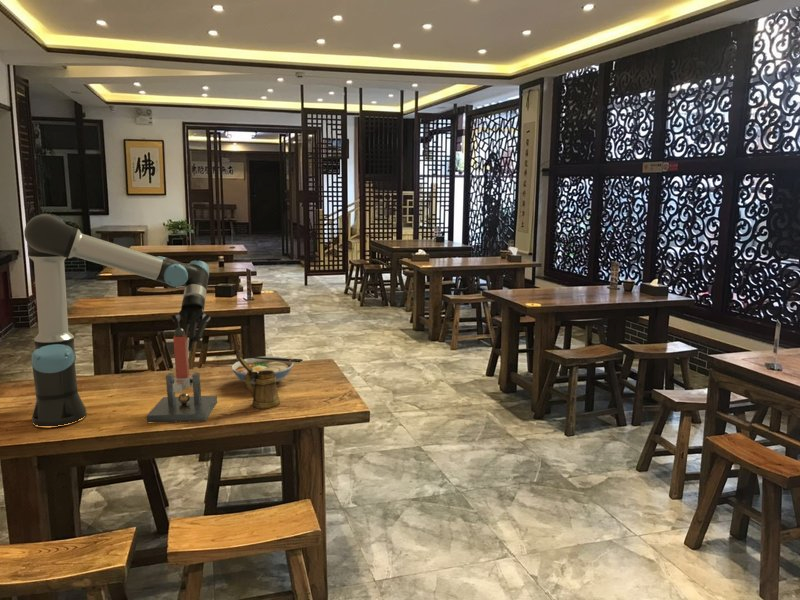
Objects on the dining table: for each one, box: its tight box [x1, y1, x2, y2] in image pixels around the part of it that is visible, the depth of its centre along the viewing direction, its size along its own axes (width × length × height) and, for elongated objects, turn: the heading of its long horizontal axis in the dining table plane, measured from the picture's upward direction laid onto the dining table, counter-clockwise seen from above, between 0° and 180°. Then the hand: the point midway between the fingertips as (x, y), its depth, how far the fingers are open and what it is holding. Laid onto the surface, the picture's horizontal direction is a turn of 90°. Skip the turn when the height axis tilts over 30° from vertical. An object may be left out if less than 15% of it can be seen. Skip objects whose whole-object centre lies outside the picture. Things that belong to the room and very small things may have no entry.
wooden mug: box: [236, 355, 281, 410], centre depth 207 cm, size 9×14×18 cm, turn 105°
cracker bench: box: [146, 371, 218, 423], centre depth 201 cm, size 18×17×12 cm
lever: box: [172, 327, 193, 393], centre depth 198 cm, size 6×8×20 cm
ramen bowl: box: [231, 355, 303, 386], centre depth 230 cm, size 25×23×8 cm
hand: (184, 358), depth 204 cm, fingers closed
